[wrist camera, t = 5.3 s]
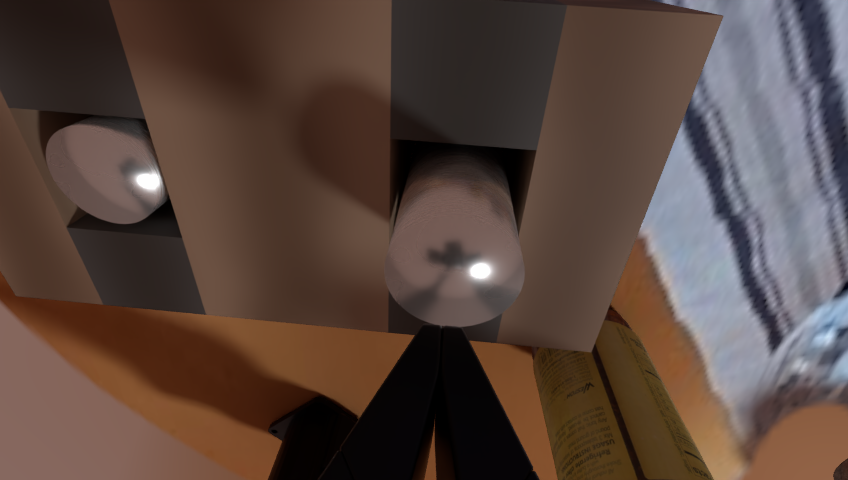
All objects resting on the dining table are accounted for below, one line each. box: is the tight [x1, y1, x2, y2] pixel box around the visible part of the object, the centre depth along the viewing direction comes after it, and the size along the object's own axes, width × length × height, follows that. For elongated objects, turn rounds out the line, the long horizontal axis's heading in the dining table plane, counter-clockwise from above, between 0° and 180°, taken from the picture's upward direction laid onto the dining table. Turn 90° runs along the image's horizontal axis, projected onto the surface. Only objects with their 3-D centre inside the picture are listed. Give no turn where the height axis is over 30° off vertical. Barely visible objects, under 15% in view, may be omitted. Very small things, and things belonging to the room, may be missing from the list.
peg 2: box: [384, 141, 525, 327], centre depth 14 cm, size 4×4×7 cm
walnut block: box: [0, 0, 723, 352], centre depth 17 cm, size 24×12×7 cm, turn 87°
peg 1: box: [46, 115, 170, 224], centre depth 17 cm, size 4×4×7 cm
